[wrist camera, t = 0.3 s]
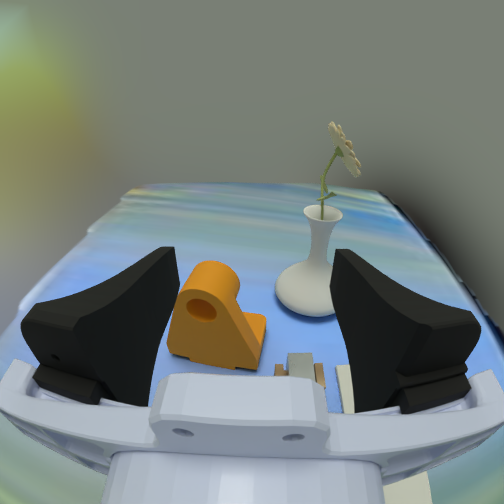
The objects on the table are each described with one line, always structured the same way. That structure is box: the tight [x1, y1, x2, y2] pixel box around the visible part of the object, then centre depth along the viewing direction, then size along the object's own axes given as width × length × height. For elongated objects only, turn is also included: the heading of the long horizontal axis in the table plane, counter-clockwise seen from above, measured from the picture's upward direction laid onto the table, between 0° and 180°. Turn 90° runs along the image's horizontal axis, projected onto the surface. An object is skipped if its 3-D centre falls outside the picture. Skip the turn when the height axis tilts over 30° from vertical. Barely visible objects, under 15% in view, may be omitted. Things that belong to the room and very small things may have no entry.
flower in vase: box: [275, 122, 361, 317], centre depth 35 cm, size 13×11×25 cm
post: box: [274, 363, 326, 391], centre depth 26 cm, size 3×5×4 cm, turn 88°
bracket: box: [166, 261, 266, 370], centre depth 31 cm, size 11×7×12 cm, turn 79°
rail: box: [286, 353, 316, 382], centre depth 19 cm, size 17×2×2 cm, turn 178°
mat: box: [335, 365, 432, 504], centre depth 21 cm, size 20×8×1 cm, turn 178°
